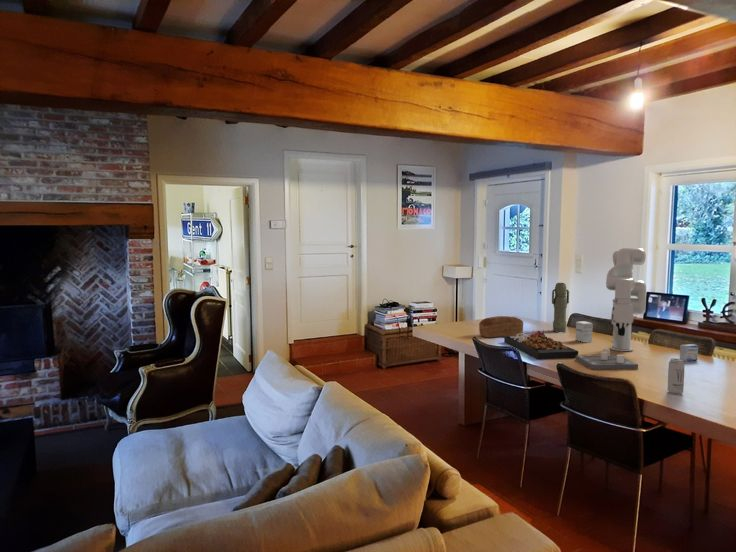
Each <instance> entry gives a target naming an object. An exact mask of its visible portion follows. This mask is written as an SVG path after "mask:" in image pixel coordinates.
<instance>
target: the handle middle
mask: <svg viewBox="0 0 736 552" xmlns="http://www.w3.org/2000/svg"><path fill="white" fill-rule="evenodd" d="M600 355H601V360H608V352H603V351H600Z"/></svg>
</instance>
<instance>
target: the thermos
mask: <svg viewBox="0 0 736 552" xmlns="http://www.w3.org/2000/svg"><path fill="white" fill-rule="evenodd" d="M569 303H570V291H569V289H567V284H566V283H565V282H557V283H555V287H554V289H552V291H551V304H552V305H553V310H554V311H553V321H552V332H553V331H558V332H564V333H566V332H567V321H566V320H567V318H566V317H567V316H566V315H567V314H566V313H567V306H568V305H569ZM565 331H566V332H565ZM558 332H557V333H558Z"/></svg>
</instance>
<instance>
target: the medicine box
mask: <svg viewBox="0 0 736 552" xmlns="http://www.w3.org/2000/svg"><path fill="white" fill-rule="evenodd" d="M698 354H699V344H698V345H697V344H695V343H694V344H693V343H687V344H680V345H679V359H682V360H683V362H686V361H688V362H693V361H692V360H697V361H698V356H699V355H698Z"/></svg>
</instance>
